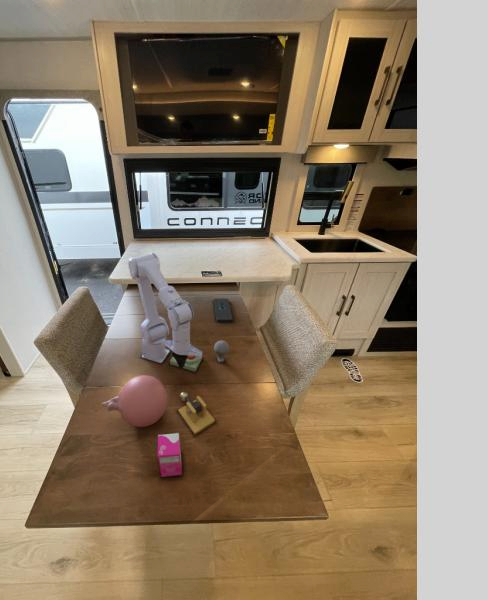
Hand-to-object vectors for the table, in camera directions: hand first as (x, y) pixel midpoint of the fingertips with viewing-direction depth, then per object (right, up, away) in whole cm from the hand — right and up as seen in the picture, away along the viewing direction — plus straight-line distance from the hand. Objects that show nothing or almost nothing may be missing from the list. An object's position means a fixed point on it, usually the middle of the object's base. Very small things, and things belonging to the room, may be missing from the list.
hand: (182, 366), depth 93 cm
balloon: (-14, -16, -5) cm, 22 cm away
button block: (+1, -2, +16) cm, 16 cm away
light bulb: (+16, -2, +17) cm, 23 cm away
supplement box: (-2, -24, -18) cm, 30 cm away
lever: (+3, -12, -4) cm, 13 cm away
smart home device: (+20, +17, +48) cm, 54 cm away
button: (+3, +1, +13) cm, 14 cm away
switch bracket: (+5, -16, -5) cm, 17 cm away
